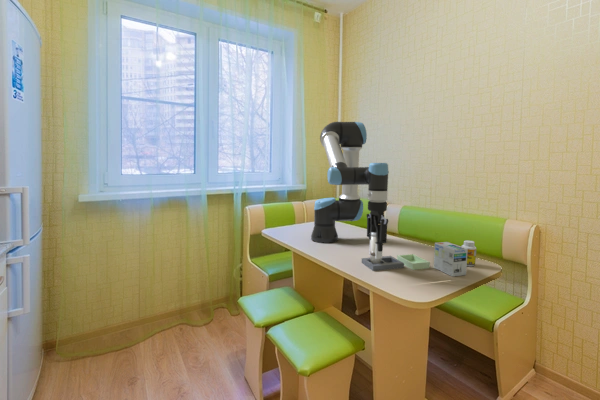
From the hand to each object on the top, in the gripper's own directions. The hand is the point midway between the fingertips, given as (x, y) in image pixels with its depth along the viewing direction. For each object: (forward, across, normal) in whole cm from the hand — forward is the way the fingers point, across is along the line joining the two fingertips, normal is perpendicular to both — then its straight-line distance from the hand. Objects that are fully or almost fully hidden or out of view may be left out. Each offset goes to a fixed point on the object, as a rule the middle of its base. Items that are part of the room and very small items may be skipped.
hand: (375, 256), depth 123 cm
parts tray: (+4, +2, +16) cm, 17 cm away
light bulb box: (+5, +12, +26) cm, 29 cm away
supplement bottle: (+5, +8, +40) cm, 40 cm away
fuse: (+4, 0, 0) cm, 4 cm away
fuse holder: (+4, 0, +3) cm, 5 cm away
